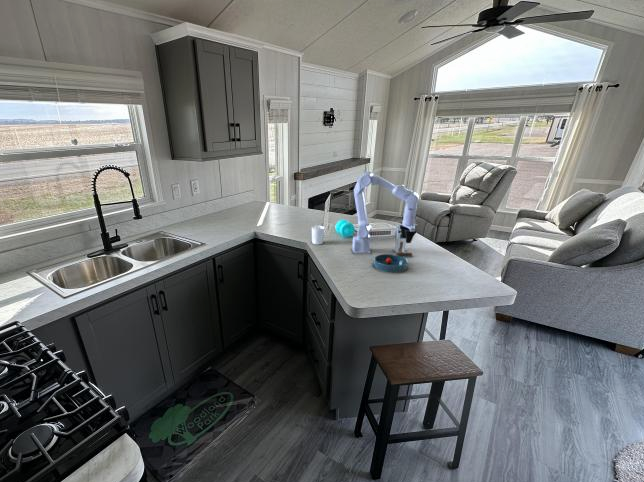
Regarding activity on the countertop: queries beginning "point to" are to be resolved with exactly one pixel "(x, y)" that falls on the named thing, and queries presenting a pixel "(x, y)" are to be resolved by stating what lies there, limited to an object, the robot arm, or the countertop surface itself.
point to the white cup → (317, 234)
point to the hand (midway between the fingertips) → (406, 240)
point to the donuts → (345, 228)
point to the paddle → (404, 253)
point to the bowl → (395, 266)
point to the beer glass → (399, 240)
